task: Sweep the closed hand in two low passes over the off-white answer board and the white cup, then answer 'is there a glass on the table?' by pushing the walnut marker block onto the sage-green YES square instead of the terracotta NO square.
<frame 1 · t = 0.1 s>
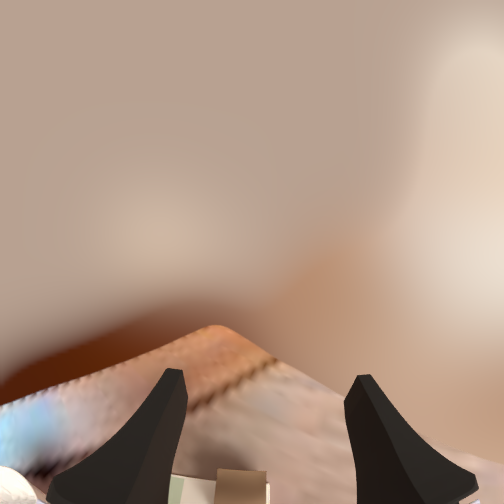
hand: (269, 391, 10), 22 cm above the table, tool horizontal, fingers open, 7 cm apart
marker block: (240, 500, 19), resting on answer board
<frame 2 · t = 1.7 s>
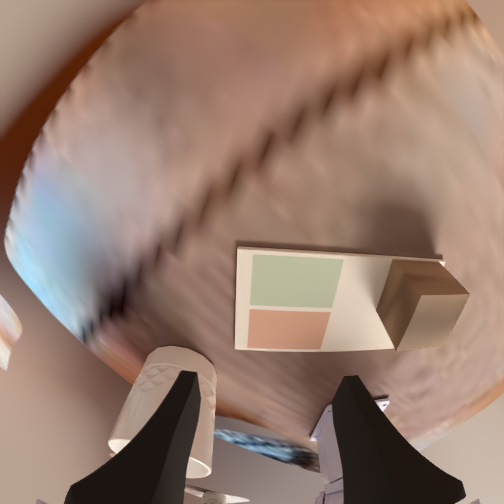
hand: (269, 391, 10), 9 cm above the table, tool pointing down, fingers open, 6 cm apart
answer board: (342, 306, 20), on the table
energy drink can: (214, 492, 49), on the table
marker block: (408, 286, 18), resting on answer board
white cup: (182, 367, 24), on the table
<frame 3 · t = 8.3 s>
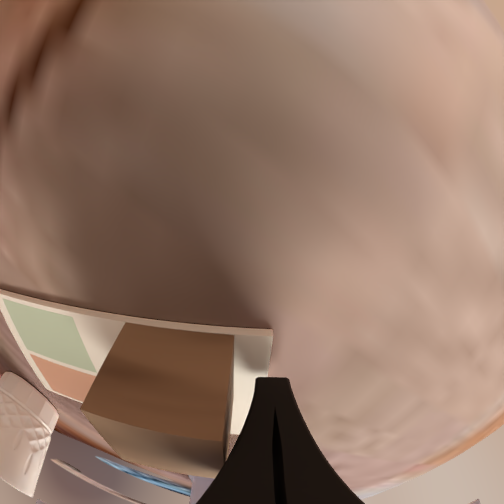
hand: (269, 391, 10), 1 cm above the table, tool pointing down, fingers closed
answer board: (115, 373, 12), on the table
marker block: (183, 366, 11), resting on answer board, touching gripper
white cup: (32, 393, 16), on the table
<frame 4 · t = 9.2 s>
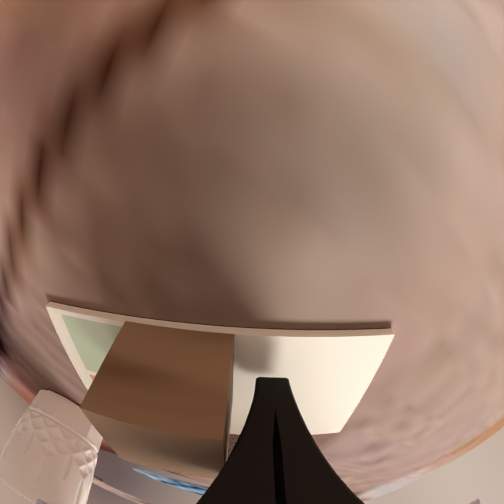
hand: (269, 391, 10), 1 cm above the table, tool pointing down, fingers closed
answer board: (209, 389, 12), on the table
marker block: (182, 365, 11), resting on answer board, touching gripper
white cup: (71, 411, 16), on the table
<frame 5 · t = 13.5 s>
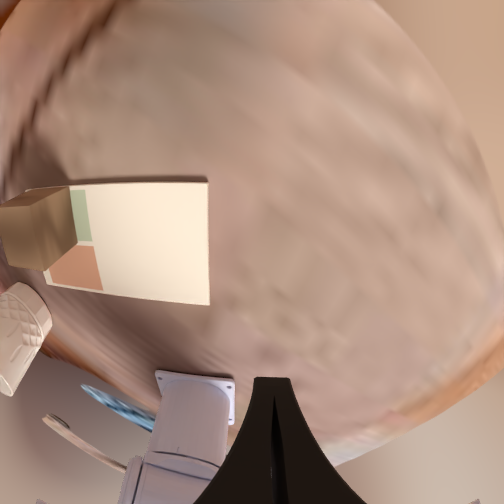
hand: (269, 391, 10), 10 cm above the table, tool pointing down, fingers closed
answer board: (105, 242, 18), on the table
marker block: (53, 215, 17), resting on answer board
white cup: (32, 306, 22), on the table
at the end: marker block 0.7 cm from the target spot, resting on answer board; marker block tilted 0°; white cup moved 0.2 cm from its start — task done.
